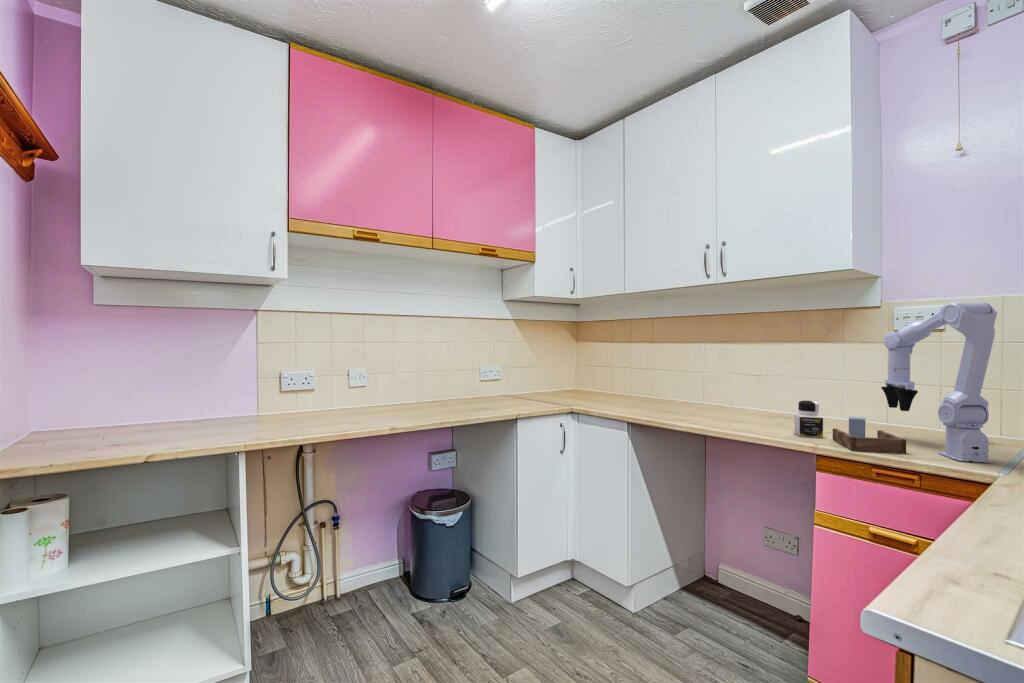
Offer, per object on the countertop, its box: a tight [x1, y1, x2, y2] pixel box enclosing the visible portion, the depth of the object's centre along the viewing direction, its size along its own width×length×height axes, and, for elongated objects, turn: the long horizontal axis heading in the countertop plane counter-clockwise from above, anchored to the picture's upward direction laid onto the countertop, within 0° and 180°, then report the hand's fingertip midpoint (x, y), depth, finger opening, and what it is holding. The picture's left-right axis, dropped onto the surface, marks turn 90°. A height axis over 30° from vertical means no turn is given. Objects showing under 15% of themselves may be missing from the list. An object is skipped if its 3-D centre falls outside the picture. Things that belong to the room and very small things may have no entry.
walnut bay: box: [832, 427, 907, 454], centre depth 152 cm, size 15×14×4 cm
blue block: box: [848, 416, 866, 438], centre depth 164 cm, size 4×4×7 cm
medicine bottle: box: [793, 400, 824, 438], centre depth 170 cm, size 7×7×12 cm
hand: (898, 409), depth 161 cm, fingers open, 7 cm apart
